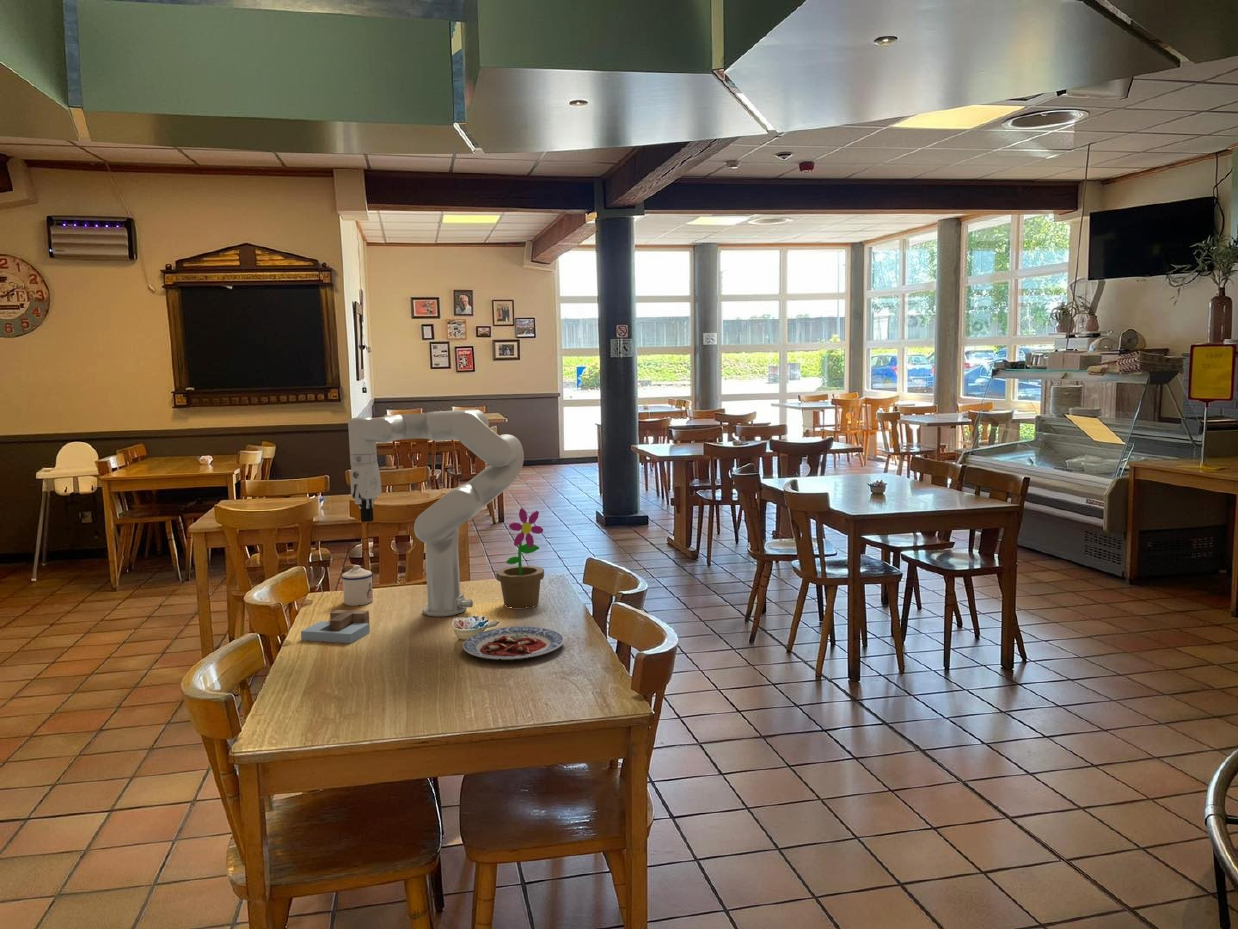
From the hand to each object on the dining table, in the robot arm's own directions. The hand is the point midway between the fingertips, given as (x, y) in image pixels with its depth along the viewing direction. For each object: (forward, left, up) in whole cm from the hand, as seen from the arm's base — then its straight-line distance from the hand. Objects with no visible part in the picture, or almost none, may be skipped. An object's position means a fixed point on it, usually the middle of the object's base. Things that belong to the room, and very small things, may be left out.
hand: (367, 521), depth 266 cm
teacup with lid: (+10, -9, -27) cm, 30 cm away
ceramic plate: (-55, +26, -28) cm, 67 cm away
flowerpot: (-42, -14, -27) cm, 52 cm away
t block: (-4, +22, -27) cm, 35 cm away
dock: (-3, +24, -27) cm, 36 cm away
